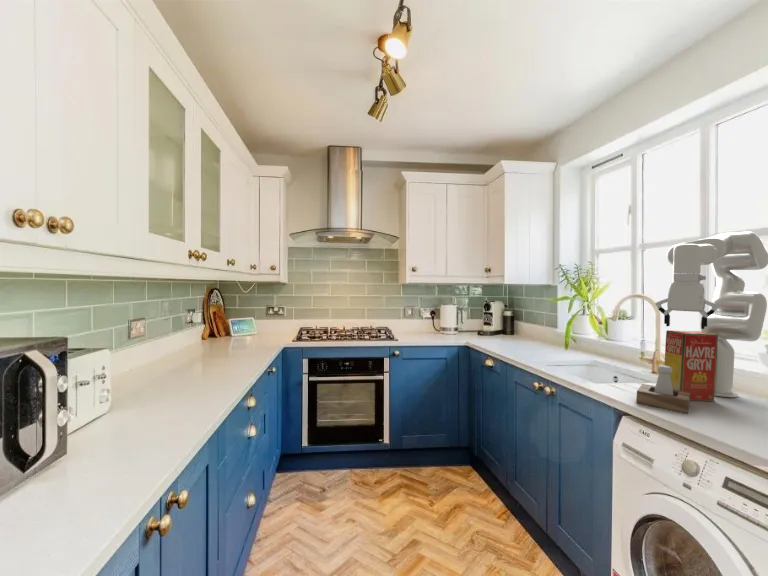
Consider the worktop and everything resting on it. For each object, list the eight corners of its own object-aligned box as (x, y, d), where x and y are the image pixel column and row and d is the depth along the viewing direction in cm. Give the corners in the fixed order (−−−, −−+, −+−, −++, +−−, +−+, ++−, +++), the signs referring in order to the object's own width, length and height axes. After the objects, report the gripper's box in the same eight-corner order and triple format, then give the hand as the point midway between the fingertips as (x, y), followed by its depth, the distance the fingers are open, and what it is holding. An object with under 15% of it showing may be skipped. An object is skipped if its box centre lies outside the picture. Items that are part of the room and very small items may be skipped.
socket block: (641, 396, 141) (642, 383, 141) (689, 405, 131) (690, 392, 131) (636, 404, 130) (636, 390, 130) (687, 415, 121) (688, 400, 121)
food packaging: (680, 400, 136) (683, 332, 135) (661, 393, 145) (664, 329, 145) (716, 401, 136) (719, 334, 136) (694, 394, 145) (697, 330, 145)
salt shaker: (677, 405, 128) (678, 368, 128) (658, 404, 129) (660, 367, 129) (667, 400, 133) (669, 364, 133) (650, 399, 135) (651, 363, 134)
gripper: (719, 279, 127) (718, 328, 128) (657, 278, 139) (656, 324, 140) (719, 279, 122) (717, 331, 122) (654, 279, 134) (653, 326, 134)
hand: (685, 327), depth 131 cm, fingers open, 9 cm apart
